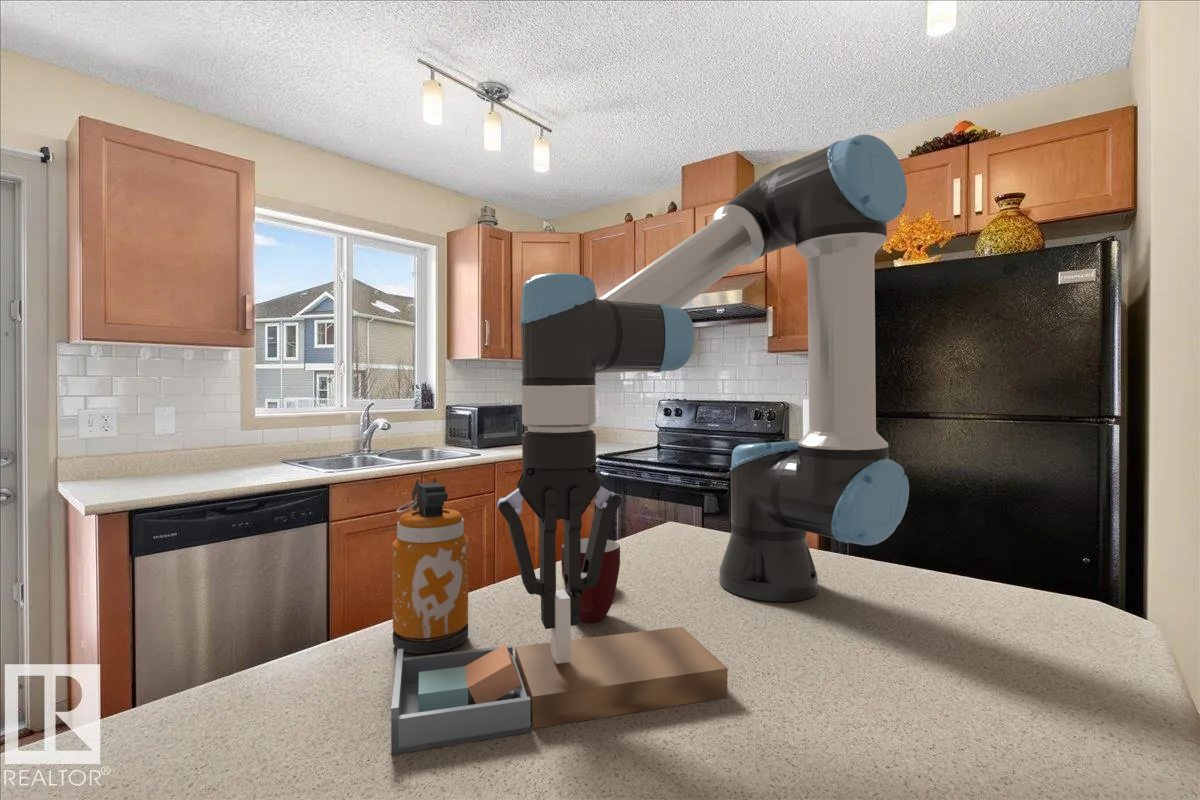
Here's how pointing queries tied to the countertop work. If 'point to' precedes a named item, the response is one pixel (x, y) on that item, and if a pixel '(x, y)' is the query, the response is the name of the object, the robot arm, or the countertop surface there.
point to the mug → (599, 583)
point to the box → (454, 722)
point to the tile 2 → (492, 676)
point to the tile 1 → (442, 689)
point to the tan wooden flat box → (619, 676)
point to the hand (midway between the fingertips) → (560, 656)
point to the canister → (430, 574)
